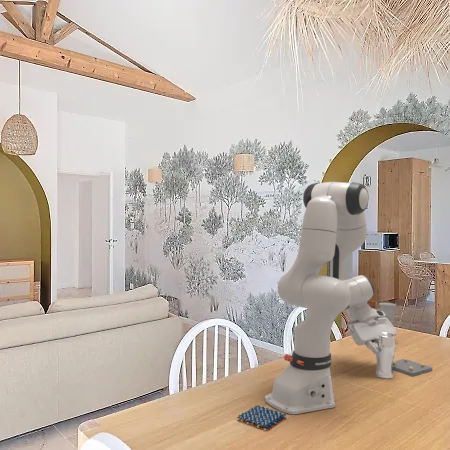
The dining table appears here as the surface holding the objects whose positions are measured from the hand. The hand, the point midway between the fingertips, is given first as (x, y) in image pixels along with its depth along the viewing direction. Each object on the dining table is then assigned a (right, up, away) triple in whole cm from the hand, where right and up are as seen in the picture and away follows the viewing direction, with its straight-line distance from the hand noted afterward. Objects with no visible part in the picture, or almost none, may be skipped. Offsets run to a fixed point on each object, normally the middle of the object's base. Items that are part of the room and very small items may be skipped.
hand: (385, 351), depth 159 cm
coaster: (+11, -9, +8) cm, 17 cm away
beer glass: (0, -9, +1) cm, 9 cm away
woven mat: (-48, -10, -35) cm, 60 cm away
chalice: (+16, -9, +42) cm, 46 cm away
